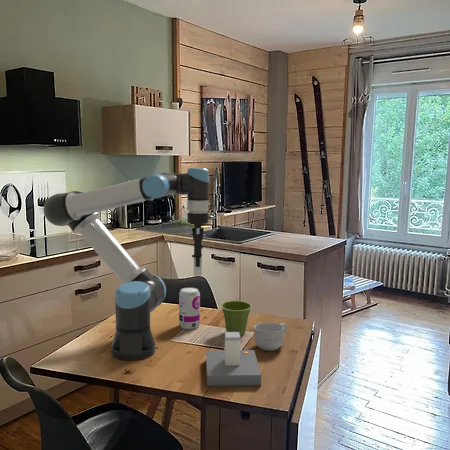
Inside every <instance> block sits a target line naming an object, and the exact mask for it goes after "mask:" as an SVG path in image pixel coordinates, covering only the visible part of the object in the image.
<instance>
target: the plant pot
mask: <svg viewBox="0 0 450 450" xmlns="http://www.w3.org/2000/svg"><path fill="white" fill-rule="evenodd" d="M220 307H221V309H222V313H223V317H224V318H223V319H224V325H225V330H226V331H225V332H239V334H240V337H242V336H244V335H245V334H246V330H247V325H248V319H249V315H250V312H251V309H252V307H253V305H252V304H251V303H250V302H247V301H243V300H228V301H225V302H222V303H221V304H220Z"/></svg>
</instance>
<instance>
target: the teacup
mask: <svg viewBox="0 0 450 450" xmlns="http://www.w3.org/2000/svg"><path fill="white" fill-rule="evenodd" d="M287 330H288V327H287V324H286V323H284V322H281V323H278V322H272V321H271V322H270V321H268V322H265V321H264V322H259V323H256V324H255V325H254V326H253V331H254V332H253V336H254V337H253V338H254V344H255V345H256V346H257V347H258V348H260V349H261V350H262V351H265V352H266V351H268V352H270V351H272V352H273V351H276V350H278V349H279V348H280V347H282V345H283V344H284V342H285V341H284V338H285V334H286V333H287Z"/></svg>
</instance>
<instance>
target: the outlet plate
mask: <svg viewBox="0 0 450 450" xmlns="http://www.w3.org/2000/svg"><path fill="white" fill-rule="evenodd" d="M224 355H225V349H223V350H219V349H218V350H205V366H206V367H205V368H206V384H207V385H206V387H207V388H215V387H216V388H220V387H224V388H225V387H226V388H227V387H229V388H230V387H237V388H238V387H262V373H261V369H260V366H259V361H258V359H257V356H256V351H255V350H254V349H249V350H247V349H244V350H243V349H240V365H225V360H224Z"/></svg>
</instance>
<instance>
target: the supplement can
mask: <svg viewBox="0 0 450 450" xmlns="http://www.w3.org/2000/svg"><path fill="white" fill-rule="evenodd" d="M178 296H179V297H178V302H179V303H178V308H179V309H178V325H179V327H180V328H181V329H183V330H194V329H197V328H198V327H200V317H201V315H200V314H201V293H200V291H199V289H198V288H196V287H184V288H181V289H180V291H179V293H178Z"/></svg>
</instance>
